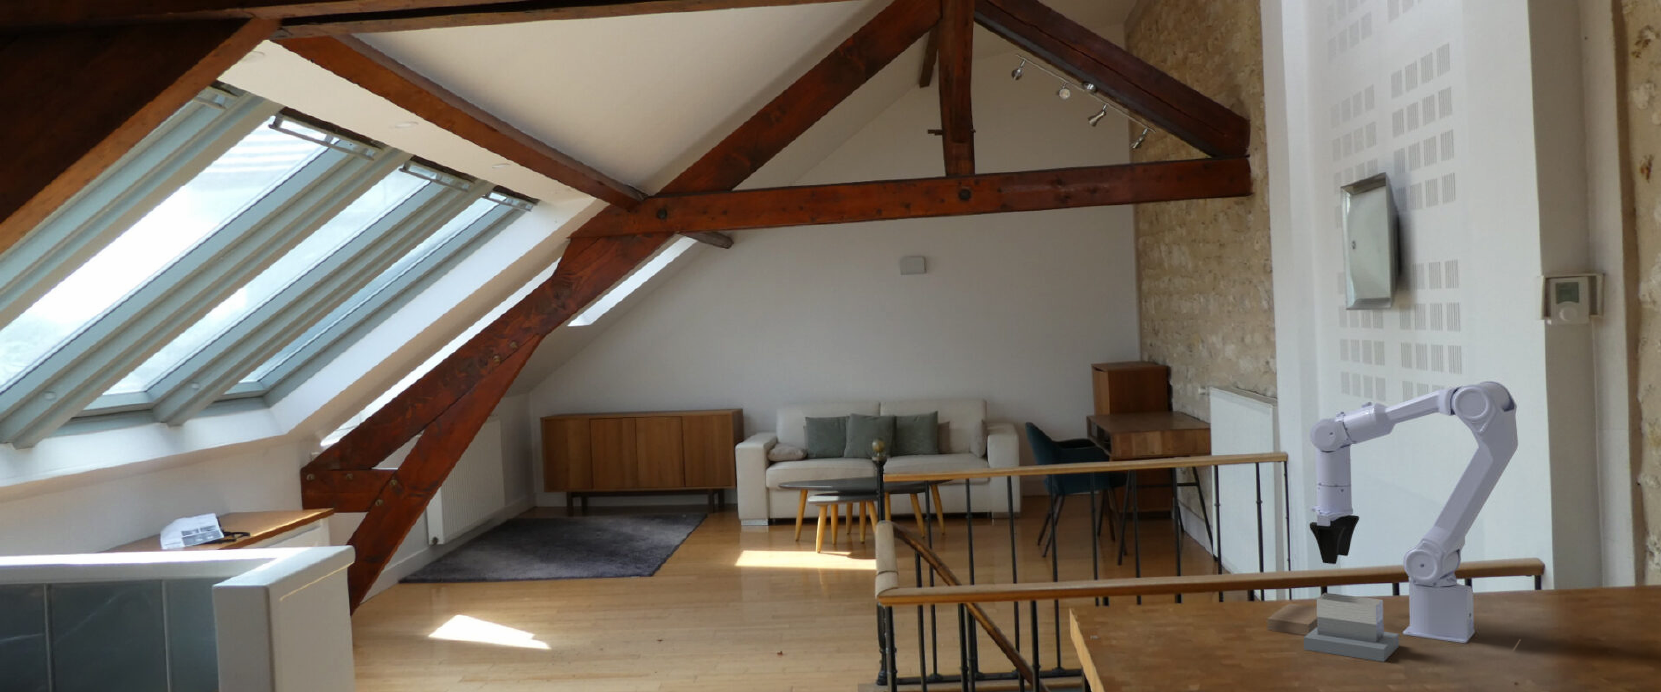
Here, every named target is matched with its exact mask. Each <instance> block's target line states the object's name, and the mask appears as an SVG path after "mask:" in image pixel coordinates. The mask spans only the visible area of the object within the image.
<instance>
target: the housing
mask: <svg viewBox="0 0 1661 692" xmlns="http://www.w3.org/2000/svg"><path fill="white" fill-rule="evenodd" d="M1316 607H1317V632H1318V635H1324V636H1331V637H1338V638H1345V639H1351V640H1358V641H1365V642H1372V643H1377V642H1378V641H1379V640H1380V639H1381V638H1383V637H1384V632H1385V631H1384V600H1383V599H1379V598H1378V599H1377V598H1371V597H1363V596H1362V597H1361V596H1353V595H1347V594H1346V595H1345V594H1339V593H1338V594H1337V593H1330V592H1324V593H1322V594H1321V595H1319V596H1318V597H1316Z"/></svg>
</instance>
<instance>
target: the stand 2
mask: <svg viewBox="0 0 1661 692" xmlns="http://www.w3.org/2000/svg"><path fill="white" fill-rule="evenodd" d="M1399 647H1400V634H1399V633H1395V632H1388V631H1384V637H1383V638H1381V639H1380V640H1379V641H1378V642H1377V643H1372V642H1365V641H1358V640H1351V639H1345V638H1338V637H1331V636H1324V635H1318V632H1317V627H1316V628H1315V629H1314V630H1312V631H1311V632H1310V633H1309V634H1307V635H1306V636H1305V635H1304V637H1303V649H1304V650H1305V651H1312V652H1318V653H1326V654H1332V655H1338V656H1344V657H1351V658H1357V659H1364V660H1370V661H1375V662H1376V661H1377V662H1386V660H1387V659H1388V658H1389V657H1390V656H1391V655H1392V654H1393V653H1394V652H1395V651H1396V650H1397V649H1398V648H1399Z"/></svg>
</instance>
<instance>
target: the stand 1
mask: <svg viewBox="0 0 1661 692" xmlns="http://www.w3.org/2000/svg"><path fill="white" fill-rule="evenodd" d="M1266 621H1267V622H1266V624H1267V631H1271V632H1280V633H1286V634H1293V635H1300V636H1304V637H1305V636H1306V635H1307V634H1309V633H1310V632H1311V631H1312V630H1314V629H1315V628H1316V627H1317V606H1311V605H1305V604H1296V603H1287V604H1286V605H1285V606H1282V608H1280V609H1278V610H1277V611H1276V612H1274V613H1273V614H1272V615H1270V616H1269V617H1267V618H1266Z"/></svg>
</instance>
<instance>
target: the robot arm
mask: <svg viewBox="0 0 1661 692" xmlns="http://www.w3.org/2000/svg"><path fill="white" fill-rule="evenodd" d="M1517 409H1518V405H1517V403H1516V402H1515V399H1514V397H1513V396H1512V395H1511V393H1510V391H1509V390H1508V388H1507V387H1506V386H1505V385H1503V384H1502V383H1500V382H1498V381H1493V380H1487V381H1482V382H1479V383H1477V384H1474V383H1473V384H1467V385H1460V386H1455V387H1447V388H1443V389H1438V390H1435V391H1432V392H1429V393H1426V394H1424V395H1420V396H1418V397H1414V398H1411V399H1409V400H1406V401H1403V402H1400V403H1397V404H1394V405H1391V406H1385V405H1384V404H1381V403H1378V402H1376V403H1372V402H1371V401H1368V402H1364V403H1362V404H1361V406H1360V408H1357V409H1354V410H1351V411H1347V412H1344V411H1339V412H1336V413H1335V415H1336V417H1335V416H1334V417H1330V418H1329V417H1328V418H1326V417H1325V418H1322V419H1320V420H1318V421H1317V422H1315V423H1314V424H1313V425H1312V426H1311V428H1310V431H1309V438H1310V441H1311V442H1312V444H1313V446H1314V447H1315V468H1316V469H1315V471H1316V472H1315V474H1316V475H1315V476H1316V477H1315V481H1316V482H1315V483H1316V505H1312V506H1311V507H1310V509H1309V510H1310V512H1315V513H1316V522H1315V521H1312V522H1310V523H1309V530H1310V531H1311V532H1312V534H1313V536H1314V538H1315V541H1316V542H1317V546H1318V549H1319V553H1320V557H1321V560H1322V563H1323V564H1329V565H1336V564H1337V562H1338V557H1339V556H1344V557H1348V556H1349V554H1350V553H1349V552H1350V548H1351V544H1352V543H1351V542H1352V538H1353V535H1354V531H1355V529H1356V527H1357V525H1358V523H1359V521H1360V516H1359V515H1353V514H1354V508H1353V501H1352V499H1353V498H1352V470H1351V469H1352V462H1351V461H1352V460H1351V446H1352V445H1357V444H1360V443H1364V442H1368V441H1370V440H1373V439H1376V438H1377V439H1378V438H1381V437H1384V436H1388V435H1390V434H1391V433H1392V432H1393V429H1394V428H1395V426H1396V425H1397V424H1399V423H1400V424H1401V423H1404V422H1407V421H1410V420H1415V419H1418V418H1422V417H1425V416H1429V415H1432V414H1437V413H1439V414H1442V415H1446V416H1448V417H1449V416H1450V417H1452V416H1457V418H1458V419H1459V420H1460V421H1461V422H1462V423H1463V424H1464V425H1465V426H1466V427H1467V428H1468V429H1469V430H1470V431H1471V433H1472V435H1473V437H1474V439H1475V441H1476V443H1477V448H1476V449H1475V451H1474V453H1473V455H1472V457H1471V458H1470V460H1469V462H1468V464H1467V465H1466V467H1465V469H1464V471H1463V472H1462V474H1461V475H1460V477H1459V480H1458V481H1457V483H1456V484H1455V486H1454V488H1453V490H1452V491H1451V493H1450V495H1449V496H1448V499H1447V501H1446V502H1445V504H1444V506H1443V507H1442V508H1441V511H1440V512H1439V514H1438V516H1437V517H1436V519H1435V521H1434V523H1433V524H1432V526H1431V527H1430V528H1429V529H1428V530H1427V531H1426V532H1425V534H1424V535H1423V536H1422V537H1421V539H1420V541H1419V542H1418V544H1416V545H1415V546H1414V547H1412V548H1410V549H1408V550H1407V551H1406V552H1405V554H1404V556H1403V559H1402V560H1403V561H1402V564H1403V569H1404V571H1405V573H1406V575H1407V576H1408V597H1409V601H1408V602H1409V625H1408V626H1407V628H1406V629H1405V630H1403V631H1402V635H1405V636H1410V637H1411V636H1412V637H1416V638H1417V637H1418V638H1423V639H1424V638H1425V639H1432V640H1438V641H1439V640H1440V641H1447V642H1454V643H1460V644H1466V643H1468V642H1469V641H1470V639H1471V637H1472V636H1473V635H1474V634H1475V633H1476V632H1475V623H1474V618H1475V617H1474V615H1475V613H1474V594H1473V589H1472V586H1470V585H1466V584H1460V583H1458V579H1457V576H1456V574H1455V572H1456V571H1457V570H1458V569H1459V567H1460V565H1461V561H1462V550H1463V547H1465V545H1466V536H1467V534H1468V532H1469V531H1470V529H1471V528H1472V526H1473V524H1474V523H1475V521H1476V519H1477V517H1478V516H1479V514H1480V512H1481V511H1482V509H1483V507H1484V505H1485V504H1486V502H1487V500H1488V499H1489V497H1490V495H1491V494H1492V492H1493V490H1494V489H1495V487H1496V485H1497V483H1498V482H1499V480H1500V478H1501V476H1502V475H1503V473H1504V472H1505V470H1506V468H1507V467H1508V465H1509V463H1510V461H1511V460H1512V458H1513V456H1514V454H1515V452H1516V451H1517V450H1518V446H1519V439H1518V437H1519V436H1518V426H1517V418H1516V415H1517Z"/></svg>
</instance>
